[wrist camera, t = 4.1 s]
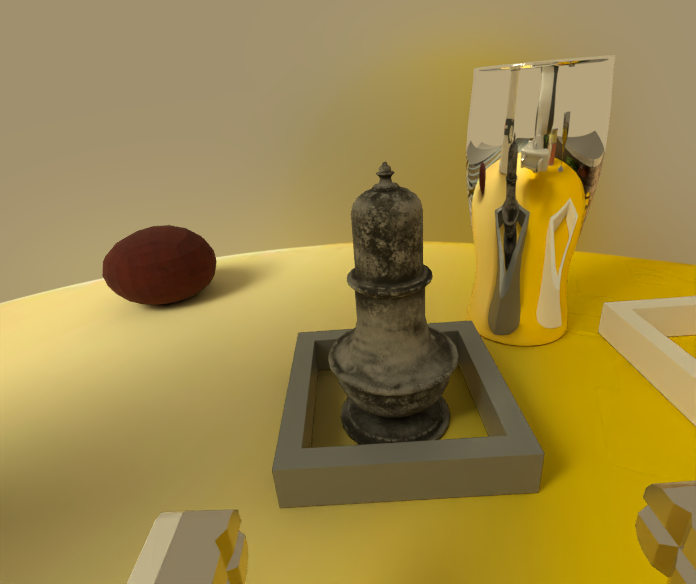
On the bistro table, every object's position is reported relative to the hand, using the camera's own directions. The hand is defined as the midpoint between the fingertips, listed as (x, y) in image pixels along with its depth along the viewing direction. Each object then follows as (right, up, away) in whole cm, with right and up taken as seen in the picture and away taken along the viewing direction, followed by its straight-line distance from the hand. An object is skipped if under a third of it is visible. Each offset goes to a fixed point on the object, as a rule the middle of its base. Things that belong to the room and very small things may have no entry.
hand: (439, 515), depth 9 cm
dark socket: (0, -1, +12) cm, 13 cm away
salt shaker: (+1, -2, +13) cm, 13 cm away
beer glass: (+9, +2, +20) cm, 22 cm away
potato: (-17, +4, +28) cm, 32 cm away
